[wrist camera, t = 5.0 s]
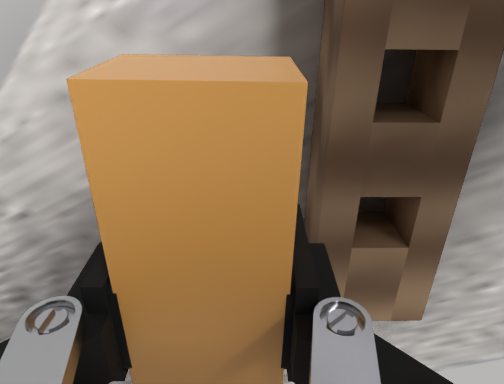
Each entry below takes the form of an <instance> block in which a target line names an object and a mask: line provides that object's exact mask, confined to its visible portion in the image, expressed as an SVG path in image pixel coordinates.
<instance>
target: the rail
mask: <svg viewBox="0 0 504 384" xmlns="http://www.w3.org/2000/svg"><path fill="white" fill-rule="evenodd" d="M385 49H414V50H417V51H416V56H415V61H414V66H413V71H412V76H411V80H410V85H409V90H408V95H407V100H406V103H376V101H377V95H378V89H379V83H380V77H381V71H382V65H383V59H384V53H385ZM503 50H504V0H325V4H324V15H323V26H322V37H321V48H320V58H319V69H318V80H317V91H316V102H315V112H314V123H313V134H312V145H311V156H310V166H309V177H308V188H307V199H306V210H305V220H304V226H305V230H306V234H307V238H308V242H309V243H324V244H325V247H326V250H327V253H328V256H329V260H330V263H331V266H332V269H333V272H334V276H335V279H336V282H337V285H338V289H339V292H340V295H341V297H342V298H346V299H350V300H352V301H354V302H356V303H358V304H360V305H361V306H362V307H363V308H365V309H366V311H367V312H368V313H369V315H370V317H371V320H372V321H409V320H422V316H423V313H424V310H425V307H426V303H427V300H428V297H429V293H430V290H431V287H432V284H433V280H434V277H435V274H436V270H437V267H438V264H439V261H440V257H441V254H442V251H443V247H444V244H445V241H446V238H447V234H448V231H449V228H450V224H451V221H452V218H453V215H454V211H455V208H456V205H457V201H458V198H459V195H460V192H461V188H462V185H463V182H464V178H465V175H466V172H467V169H468V165H469V162H470V159H471V155H472V152H473V149H474V146H475V142H476V139H477V136H478V132H479V129H480V126H481V123H482V119H483V116H484V113H485V109H486V106H487V103H488V100H489V96H490V93H491V90H492V86H493V83H494V80H495V77H496V73H497V70H498V67H499V63H500V60H501V57H502V54H503ZM360 197H387V198H386V203H385V208H384V212H358V209H359V203H360Z"/></svg>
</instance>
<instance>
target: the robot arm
mask: <svg viewBox="0 0 504 384" xmlns="http://www.w3.org/2000/svg"><path fill="white" fill-rule="evenodd" d="M129 368H132V365H131V360H130V356H129V351H128V346H127V341H126V337H125V332H124V327H123V322H122V318H121V313H120V308H119V304H118V299H117V294H116V293H113V291H112V286H111V282H110V277H109V273H108V268H107V263H106V259H105V254H104V250H103V245H102V242H100V243H99V244H98V245H97V247H96V249H95V250H94V252H93V254H92V255H91V257H90V258H89V260H88V262H87V263H86V265H85V267H84V268H83V270H82V272H81V273H80V275H79V276H78V278H77V280H76V281H75V283H74V285H73V286H72V288H71V290H70V291H69V293H68V294H67V296H55V297H51V298H47V299H45V300H42V301H40V302H38V303H36V304H35V305H33V306H31V307H30V308H29V309H28V310H27V311H26V312H25V313H24V314H23V315H22V316H21V318H20V319H19V321H18V323H17V325H16V328H15V330H14V332H13V334H12V336H11V338H10V339H8V340H6V341H4V342H2V343H0V384H109V383H110V382H112V381H125V378H126V375H127V372H128V369H129ZM281 368H284V369H287V375H288V381H293V382H294V383H295V384H453V383H452V382H450V381H449V380H447V379H445V378H444V377H442V376H441V375H439V374H438V373H436V372H434V371H433V370H431V369H430V368H428V367H426V366H425V365H423V364H422V363H420V362H419V361H417V360H415V359H414V358H412V357H411V356H409V355H407V354H406V353H404V352H403V351H401V350H399V349H398V348H396V347H395V346H393V345H391V344H390V343H388V342H387V341H385V340H384V339H382V338H380V337H379V336H377V335H376V334H374V331H373V324H372V320H371V317H370V315H369V313H368V312H367V311H366V309H365V308H363V307H362V306H361V305H360V304H358V303H356V302H354V301H352V300H350V299H346V298H342V297H341V295H340V292H339V289H338V285H337V282H336V279H335V276H334V272H333V269H332V266H331V263H330V260H329V256H328V253H327V250H326V247H325V244H324V243H309V242H308V238H307V234H306V230H305V226H304V222H303V217H302V213H301V209H300V205H299V204H298V205H297V217H296V229H295V241H294V252H293V264H292V276H291V288H290V294H287V295H286V308H285V320H284V333H283V346H282V358H281Z"/></svg>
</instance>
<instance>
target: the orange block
mask: <svg viewBox="0 0 504 384" xmlns="http://www.w3.org/2000/svg"><path fill="white" fill-rule="evenodd" d="M67 84H68V88H69V93H70V97H71V102H72V107H73V111H74V116H75V120H76V125H77V130H78V134H79V139H80V143H81V148H82V153H83V157H84V162H85V167H86V171H87V176H88V180H89V185H90V190H91V194H92V199H93V203H94V208H95V213H96V217H97V222H98V226H99V231H100V236H101V240H102V245H103V250H104V254H105V259H106V263H107V268H108V273H109V277H110V282H111V286H112V291H113V293H116V294H117V299H118V304H119V308H120V313H121V318H122V322H123V327H124V332H125V337H126V341H127V346H128V351H129V356H130V360H131V365H132V368H129V369H130V374H131V379H132V383H133V384H282V382H283V370H284V368H281V358H282V346H283V333H284V320H285V308H286V295H287V294H290V288H291V276H292V264H293V252H294V241H295V229H296V217H297V205H298V194H299V182H300V170H301V158H302V146H303V135H304V123H305V111H306V99H307V88H308V82H307V80H306V79H305V77H304V76H303V75H302V73H301V72H300V70H299V69H298V67H297V66H296V65H295V63H294V62H293V60H292V59H291V57H273V56H205V55H138V54H122V55H119V56H117V57H115V58H113V59H110V60H108V61H106V62H104V63H101V64H99V65H97V66H94V67H92V68H90V69H88V70H85V71H83V72H81V73H79V74H76V75H74V76H72V77H70V78H67Z"/></svg>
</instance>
